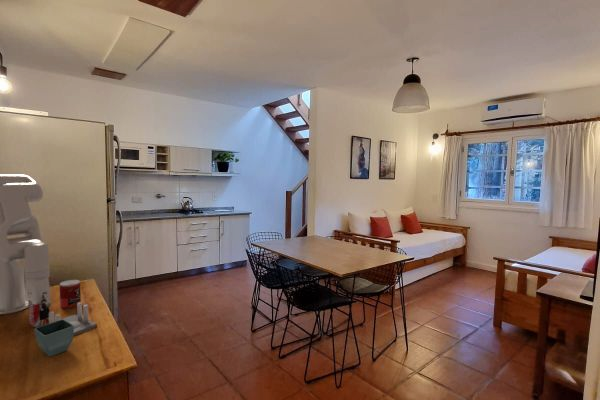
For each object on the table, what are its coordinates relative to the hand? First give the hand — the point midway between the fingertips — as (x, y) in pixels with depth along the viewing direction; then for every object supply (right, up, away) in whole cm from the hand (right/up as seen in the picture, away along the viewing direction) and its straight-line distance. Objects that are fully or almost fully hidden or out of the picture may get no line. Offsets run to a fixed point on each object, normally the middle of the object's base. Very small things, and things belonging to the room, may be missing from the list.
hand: (39, 316), depth 128 cm
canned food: (-1, -2, +19) cm, 19 cm away
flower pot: (+21, -6, -18) cm, 28 cm away
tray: (+13, -4, -2) cm, 14 cm away
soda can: (0, -4, 0) cm, 4 cm away
